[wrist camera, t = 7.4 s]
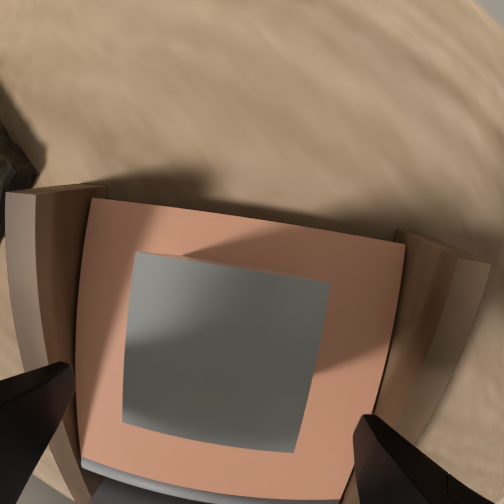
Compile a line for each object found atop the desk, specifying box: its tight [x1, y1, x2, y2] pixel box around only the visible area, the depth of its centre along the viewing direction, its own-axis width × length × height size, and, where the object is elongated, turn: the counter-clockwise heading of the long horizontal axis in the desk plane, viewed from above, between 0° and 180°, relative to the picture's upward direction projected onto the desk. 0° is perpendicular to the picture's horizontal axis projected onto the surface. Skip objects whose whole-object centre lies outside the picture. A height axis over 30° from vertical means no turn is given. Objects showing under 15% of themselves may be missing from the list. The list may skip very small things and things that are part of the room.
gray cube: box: [122, 252, 331, 453], centre depth 11 cm, size 6×6×6 cm
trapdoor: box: [75, 198, 405, 504], centre depth 15 cm, size 16×22×5 cm
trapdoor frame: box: [5, 184, 492, 504], centre depth 16 cm, size 21×25×6 cm
